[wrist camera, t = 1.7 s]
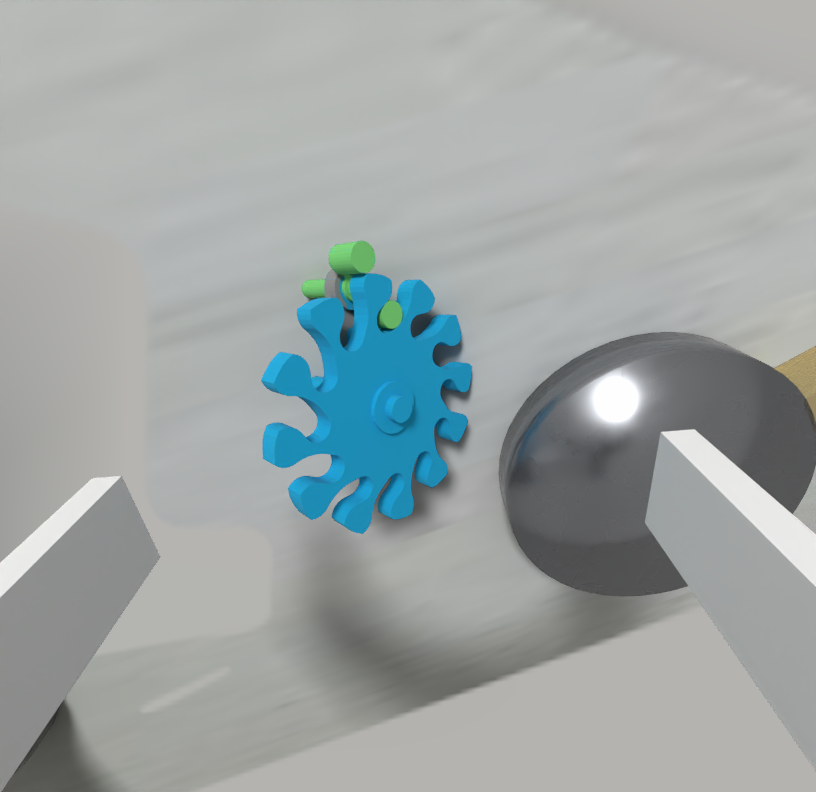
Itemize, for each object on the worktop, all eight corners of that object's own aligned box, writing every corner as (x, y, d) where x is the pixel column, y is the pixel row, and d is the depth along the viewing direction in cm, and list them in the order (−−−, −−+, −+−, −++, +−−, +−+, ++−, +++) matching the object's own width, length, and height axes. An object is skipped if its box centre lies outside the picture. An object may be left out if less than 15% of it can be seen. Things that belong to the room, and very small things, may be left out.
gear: (486, 476, 21) (309, 593, 15) (402, 447, 25) (235, 528, 19) (476, 233, 18) (241, 246, 11) (381, 245, 22) (169, 260, 15)
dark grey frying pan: (572, 593, 27) (587, 630, 25) (447, 436, 22) (452, 464, 20) (863, 459, 23) (913, 489, 20) (789, 227, 18) (845, 233, 16)
